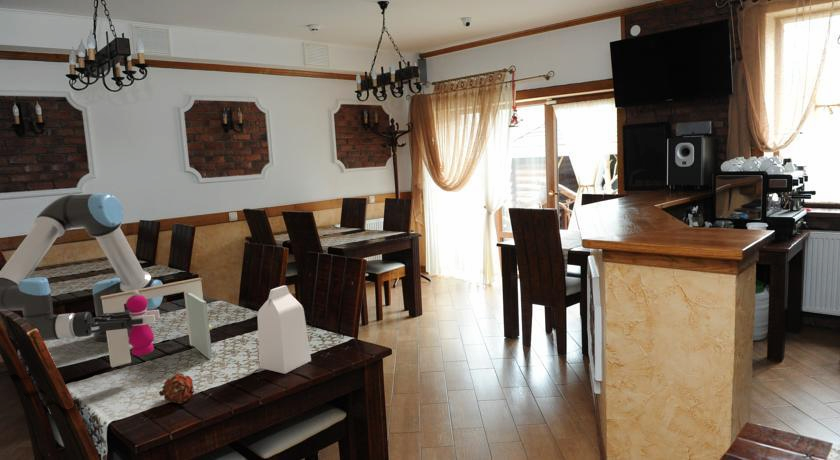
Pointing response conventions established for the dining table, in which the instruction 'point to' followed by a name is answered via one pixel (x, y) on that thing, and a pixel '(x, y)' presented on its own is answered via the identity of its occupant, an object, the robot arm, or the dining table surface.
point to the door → (199, 324)
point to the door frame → (115, 302)
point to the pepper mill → (139, 326)
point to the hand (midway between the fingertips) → (156, 316)
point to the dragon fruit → (177, 389)
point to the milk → (282, 332)
